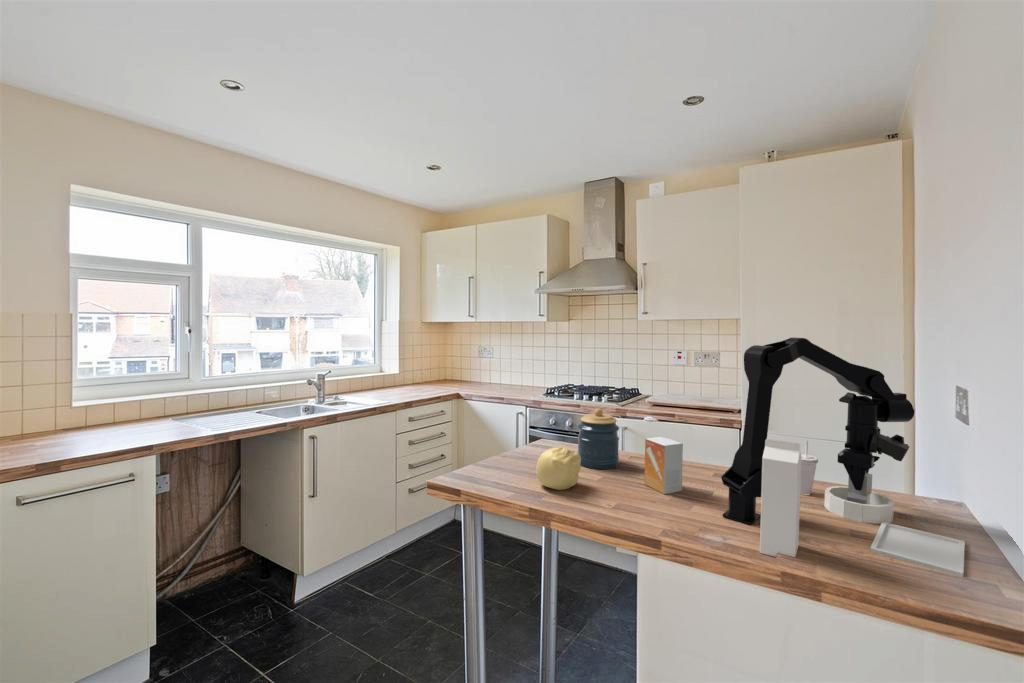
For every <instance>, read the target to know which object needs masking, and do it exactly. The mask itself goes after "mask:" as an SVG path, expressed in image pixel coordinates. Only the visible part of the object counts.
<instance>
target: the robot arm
mask: <svg viewBox="0 0 1024 683" xmlns="http://www.w3.org/2000/svg"><path fill="white" fill-rule="evenodd" d="M797 359H801V360H802V361H804V362H806V363H808V364H810V365H812V366H814V367H816V368H817V369H820V370H821V371H823V372H825V373H827V374H829V375H831V376H832V377H834V379H835V380H836V381H837V383H838V384H840V385H841V386H842V387H843V388H845V389H846V390H848V391H850V392H846V393H845V395H843V396H842V397H840V398H839V399H838V402H840V403H845V404H847V419H846V420H847V422H846V425H845V427H844V428H845V431H846V441H845V443H844V449H842V450H840V452H838V453H837V463H839V464H842V465H843V466H844V468H845V471H846V473H847V475H848V478H849V477H850V479H851V481H852V484H853V486H854V488H855V490H859V491H861V489H862V486H863V482H864V478H865V475H866V473H868V474H869V473H870V469H872V468H874V467H875V465H876V464H875V463H876V462H877V461H879V459H880V458H881V457H880V456H879V455H882V454H884V455H886V456H888V457H891V458H892V459H893V460H896V461H897V462H902V461H903V459H904V458H905V456H906V454H907V452H908V450H909V449H910V446H909V444H907V443H905V437H904V436H903V435H902V436H901V434H900V435H899V434H895V435H892V436H891V437H890V436H888V435H885V434H883V433H882V434H881V428H880V427H879V426H878V424H879V423H878V422H880V423H907V422H910V421H911V420H912V419H913V418H914V415H915V409H914V406H913V405H912V403H911V402H910V400H909V399H907V397H908V395H907V393H903V392H893V391H892V389H891V387H890V386H889V384H888V383H887V382H886V380H885V375H884V374H883V372H881V371H879V370H876V369H873V368H870V367H867V366H863V365H858V364H855V363H850V362H849V361H847V360H845V359H843V358H842V357H839V356H838V355H835V354H833V353H832V352H830V351H828V350H826V349H824V348H822V347H820V346H819V345H816V344H815V343H812V342H811V341H810V340H809V339H808V338H805V337H789V338H787V339H784V340H781V341H775V342H772V343H769V344H768V343H767V344H764V345H759V344H758V345H751V346H750V347H749V348H747V349H746V350H744V354H743V368H744V369H743V370H744V373H745V376H746V379H747V381H748V391H747V399H746V408H745V409H746V410H745V418H744V425H743V426H744V427H743V435H742V436H743V437H742V443H741V445H740V446H739V448H738V449H737V450H736V452H735V453H734V457H733V461H732V464H731V466H730V467H729V468H728V469H727V470H726V471H725V472H724V473H722V475H721V477H720V478H721V481H722V484H723V485H724V486H726V487H728V503H727V504H728V507H727V510H726V511H724V513H722V517H723V518H727V519H730V520H734V521H736V522H741V523H744V524H748V525H753V524H755V523H756V522H758V520H759V519H761V513H757V498H761V492H762V458H763V453H764V449H765V440H766V439H768V433H769V422H770V415H771V414H770V413H771V405H772V395H773V388H774V386H775V384H776V382H777V381H778V380H779V378H780V377H781V376H782V372H783V370H784V366H785V365H788V364H791V363H793V362H795V361H796V360H797ZM852 392H854V393H852ZM856 393H857V394H858V395H857V394H856ZM873 454H878V456H877V455H873Z"/></svg>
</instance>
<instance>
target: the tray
mask: <svg viewBox="0 0 1024 683" xmlns="http://www.w3.org/2000/svg"><path fill="white" fill-rule="evenodd" d="M965 542H966V541H964V540H961V539H956V538H952V537H949V536H945V535H940V534H937V533H932V532H927V531H923V530H920V529H919V530H918V529H915V528H911V527H906V526H902V525H898V524H895V523H892V522H891V523H886V522H882V523H881V524H880V526H879V529H878V531H877V533H876V534H875V537H874V539H873V541H872V543H871V545H870V548H869V549H870V550H869V551H870V552H871V553H875V554H878V555H882V556H886V557H890V558H893V559H897V560H900V561H904V562H907V563H911V564H915V565H918V566H922V567H926V568H929V569H933V570H937V571H940V572H943V573H947V574H950V575H951V574H952V575H955V576H958V577H962V578H964V570H965V568H964V566H965V546H966V545H965V544H966V543H965Z"/></svg>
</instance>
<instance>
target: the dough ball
mask: <svg viewBox="0 0 1024 683" xmlns="http://www.w3.org/2000/svg"><path fill="white" fill-rule="evenodd" d="M536 462H537V463H536V465H535V466H536V467H535V469H536V470H535V472H536V478H537V479H538V481H539V483H540V484H541V485H542V486H544V487H547V488H549V489H552V490H555V491H556V490H558V491H565V490H568V489H570V488H571V487H574V486H575V485H576V483H578V480H579V477H580V476H579V474H580V471H581V466H582V465H580V462H581V457H580V455H579V454H578V452H576V451H575V450H573V449H569V448H567V447H564V446H562V445H560V446H559V447H553V448H549V449H547V450H544V452H542V453H541V455H540V456H539V457H538V459H537V461H536Z"/></svg>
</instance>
